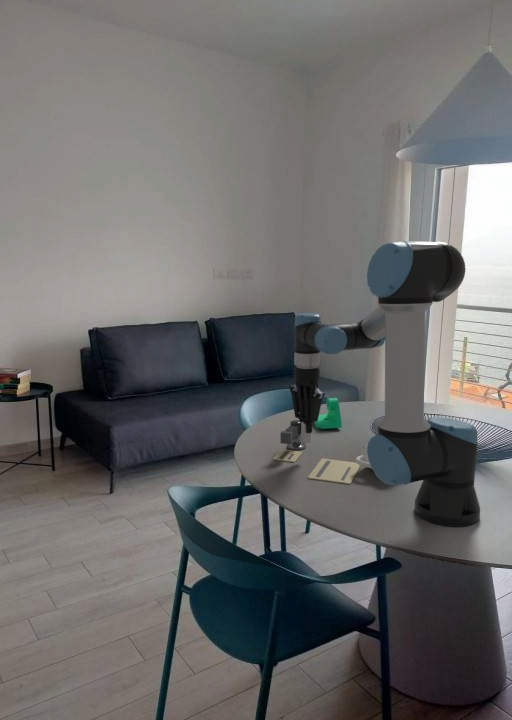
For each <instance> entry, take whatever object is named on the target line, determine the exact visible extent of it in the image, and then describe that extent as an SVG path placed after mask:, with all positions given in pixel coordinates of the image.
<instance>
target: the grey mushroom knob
mask: <svg viewBox="0 0 512 720" xmlns="http://www.w3.org/2000/svg"><path fill="white" fill-rule="evenodd" d="M286 447H287V448H289V450H291V451H302V449H303V450H305V449H306V448H307V446H306V444H303V443H301V434H298V435H297V436H296V438H295V439H294V440H293V441H292V443H291V444H286Z"/></svg>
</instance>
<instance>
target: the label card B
mask: <svg viewBox="0 0 512 720" xmlns="http://www.w3.org/2000/svg"><path fill="white" fill-rule="evenodd" d="M360 468H361V466H360V465H358V464H357V463H356V462H353V461H347V460H345V461H344V460H339V459H330V458H323V457H322V458H321V459H320V460H319V461H318V463H317V464H316V466H314V468H313V470H311V471H310V472H311V473H310V474H309V476H307V479H308V480H309V479H310V480H315V481H322V482H323V481H324V482H331V483H338V484H346V485H351V484H352V482H353V480H354V479H355V476H356V475H357V473H358V471H359V469H360Z"/></svg>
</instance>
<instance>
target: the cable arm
mask: <svg viewBox="0 0 512 720" xmlns="http://www.w3.org/2000/svg"><path fill="white" fill-rule="evenodd" d="M298 434H301V431H300V421H299V419H298V420H296V419H295V420H291V421H290V425H289V426H288V427H287V428H286V429H285V430H281V431H280V444H284V445H287V444H291V443H292V441H293V440H294V439H295V438H296V436H297V435H298Z"/></svg>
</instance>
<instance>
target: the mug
mask: <svg viewBox="0 0 512 720" xmlns="http://www.w3.org/2000/svg"><path fill="white" fill-rule="evenodd" d="M367 446H368V442H367V443H366V444H365V445H364V446H363V448H362V450H361V455H359V456H357V457H355V460H354V461H355V463H357V464H358V465H360V467H364V468H370V469H371V470H373V469H372V467H371V465H370V462H369V459H368V454H367Z"/></svg>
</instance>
